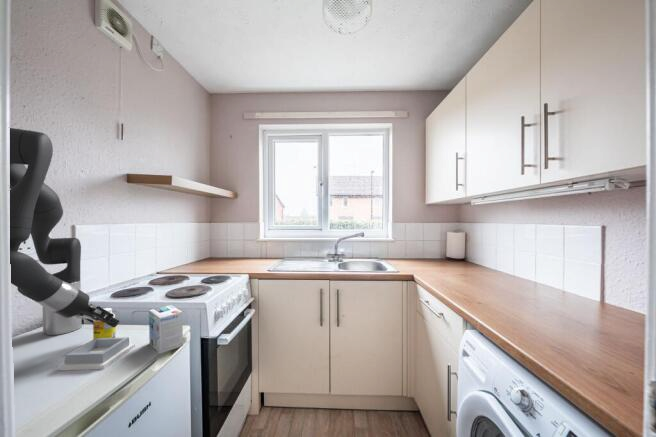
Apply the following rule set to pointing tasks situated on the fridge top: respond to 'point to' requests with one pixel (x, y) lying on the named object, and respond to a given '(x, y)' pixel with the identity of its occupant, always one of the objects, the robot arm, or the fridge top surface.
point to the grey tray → (96, 354)
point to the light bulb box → (165, 328)
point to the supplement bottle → (103, 328)
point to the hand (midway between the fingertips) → (107, 323)
